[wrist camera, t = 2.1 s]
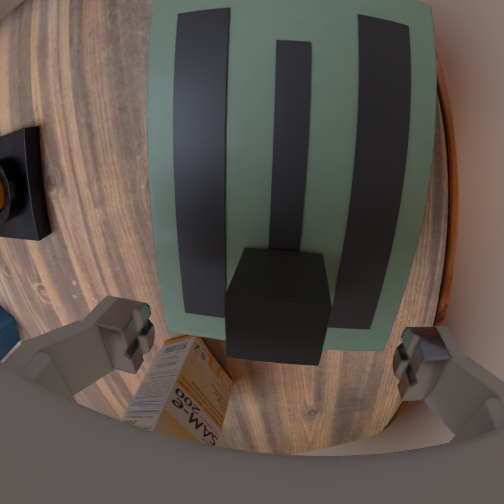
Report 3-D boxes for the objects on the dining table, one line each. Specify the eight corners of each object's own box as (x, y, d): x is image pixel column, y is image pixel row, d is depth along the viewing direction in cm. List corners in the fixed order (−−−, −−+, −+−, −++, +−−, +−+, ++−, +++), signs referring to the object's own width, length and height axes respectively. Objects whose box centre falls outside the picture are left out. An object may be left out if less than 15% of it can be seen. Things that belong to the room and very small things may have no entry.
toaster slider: (244, 246, 11) (223, 296, 8) (323, 253, 11) (332, 306, 8) (243, 299, 12) (225, 357, 9) (314, 305, 12) (318, 366, 9)
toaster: (216, 46, 17) (149, -12, 7) (372, 55, 16) (436, 2, 6) (215, 248, 24) (163, 335, 14) (353, 259, 23) (386, 355, 13)
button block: (-5, 140, 22) (-28, 147, 19) (39, 125, 21) (11, 130, 18) (8, 230, 27) (-13, 242, 24) (51, 233, 26) (27, 248, 23)
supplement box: (236, 381, 31) (211, 482, 19) (202, 387, 32) (170, 478, 20) (199, 329, 28) (151, 438, 16) (163, 338, 29) (111, 435, 18)
